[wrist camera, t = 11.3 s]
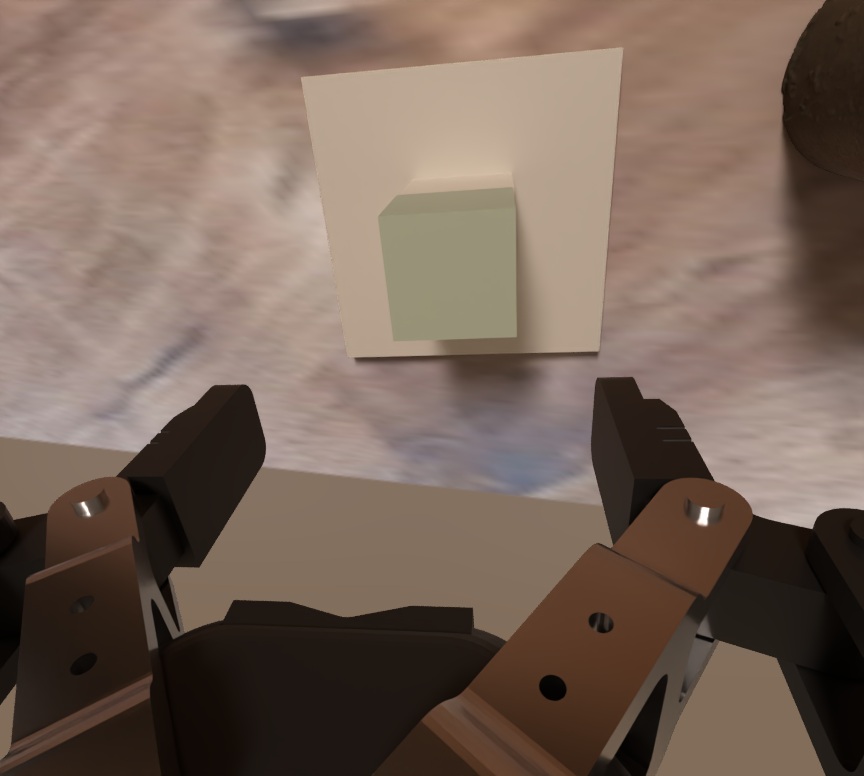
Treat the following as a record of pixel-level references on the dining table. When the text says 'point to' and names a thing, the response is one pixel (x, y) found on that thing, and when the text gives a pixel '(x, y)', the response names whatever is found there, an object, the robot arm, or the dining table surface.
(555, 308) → the baseplate
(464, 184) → the beige block
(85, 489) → the robot arm
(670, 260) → the dining table surface
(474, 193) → the sage block
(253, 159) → the dining table surface
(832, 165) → the pillar candle
